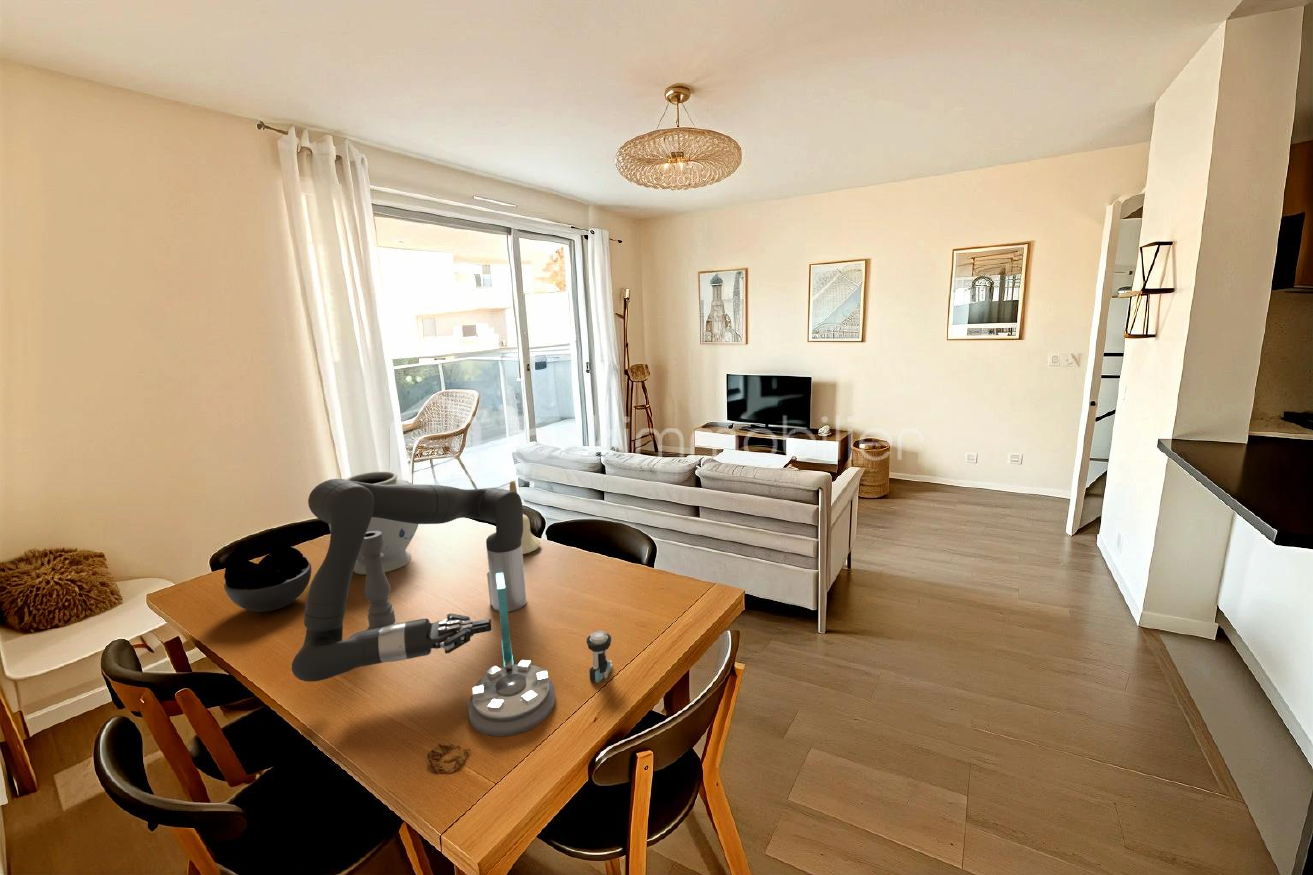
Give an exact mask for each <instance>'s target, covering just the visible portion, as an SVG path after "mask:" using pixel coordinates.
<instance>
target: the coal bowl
mask: <svg viewBox="0 0 1313 875" xmlns="http://www.w3.org/2000/svg"><path fill="white" fill-rule="evenodd" d="M245 548H246V547H245V545H243V544H240V545H238V546H237V547H236V548H234V551H233V552H231V553H230V554H229V555H227V556H226V558H225V562H226V563H227V564H226V566H225V568H224V576H223V577H224V581H225V583H224V585H223V589H224V592H225V593H226V595H227V597H228V598H229V599H230V600H231V601H232V602H233V603H234V604H235V605H236V606H238V607H240V608H241V609H243V610H247V611H250V612H259V613H264V612H273V611H276V610H279V609H282V608H284V607H287V606H288V605H290V604H292V603H293V602H295V601H296V600H297V599H298V598H299V597H300V596H301V595H302V594H303V592H304V591H305V590H306V589H307V587H308V584H309V583H310V579H311V576H312V564H311V563H310V561H309V560H308V559H307V557H306V556H304V554H303V553H302V552H301V551H300V550H299V549H297V548H295V547H292V546H291V544H290V541H289V539H287V538H286V539H285V538H283V539H280V540H277V541H276V542H275V543H274V544H272V545H269V547H268V548H269V549H266V550H265V551H264V554H266V555H265V556H264V557H263V558H262V559H260V561H259V562H258V563H256V562H254V561H250V560H248V558H247V557H246V556H245V555H244V551H245Z"/></svg>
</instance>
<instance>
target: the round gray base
mask: <svg viewBox="0 0 1313 875" xmlns="http://www.w3.org/2000/svg"><path fill="white" fill-rule="evenodd" d="M549 689H550V690H549V695H548V698H547V700H546V701H545V703H544V704H543V705H542V706H541V707H540V708H539V709H537V710H536V711H535V712H533V713H531V714H530V715H527V716H525V717H523V718H520V719H517V720H513V721H507V722H494V721H489V720H486V719H483V718H482V717H480V716H479V715H478V714H477V713H476V712H475V710H474V707H473V698H472V695H471V696H470V697H469V700H468V705H467V709H468V717H469V722H470V724H471V727H473V728H474V729H475V730H476V731H478V732H479V733H480V734H484V735H486V736H491V737H508V736H515V735H518V734H521V733H525V732H527V731H529V730H532V729H533V728H535V727H537V726H538V725H540V724H541V723H542V722H543V721H544V720H545V719H546V718H548V716H549V715H550V714H551V713H552V711H553V709H554V707H555V703H556V692H555V691H556V690H555V685H554V682H553V681H552V680H551V679H550V678H549Z"/></svg>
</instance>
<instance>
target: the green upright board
mask: <svg viewBox="0 0 1313 875" xmlns="http://www.w3.org/2000/svg"><path fill="white" fill-rule="evenodd" d="M496 581H497V591H498V602H499V611H498V612H499V621H500V630H501V632H500V633H501V641H500V643H501V651H502V659H503V666H502V667H501V666H500V667H498V666H497V665H494V666H492V667H490V668H488V669H487V670H485V671H486V672H485V673H486V675H484V676H483V677H481V679H479V680H478V681H477V682H476V684H475V685H474V687H472V694H471V696H472V698H473V707H474V710H475V712H476V713H477V714H478V715H479V716H480V717H482V718H483V719H486V720H489V721H494V722H507V721H513V720H517V719H520V718H523V717H525V716H527V715H530V714H531V713H533V712H535V711H536V710H537V709H539V708H540V707H541V706H542V705H543V704H544V703H545V701H546V700H547V698H548V695H549V690H550V689H549V679H550V677H549V675H548V671H547V670H545V669H542V667H539V666H537V665H535V664H532V661H531V660H525V659H521V660H520V661H519V663H515V664H514V657H513V649H512V642H511V641H512V640H511V637H510V636H511V635H510V625H509V614H508V612H507V602H506V592H505V583H504V576H503V573H497V574H496Z"/></svg>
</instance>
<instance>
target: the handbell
mask: <svg viewBox="0 0 1313 875" xmlns="http://www.w3.org/2000/svg"><path fill="white" fill-rule="evenodd" d="M517 489H518V488H517V485H516V482H515V480H511V481H510V482H509V490H510V491H514V492H516V493H517V494H518V491H517ZM530 523H531V522H530V519H529V517H528V516H527V515H526V514H524V513H523V535H522V538H521V543H522V555H524V554H530V553H531V552H533V551H535V550H537V549H538V548H539V547H540V545H541V541H540V539H539V538H538V537H536V536H535V535H534V534H533V533H532V531H531V524H530Z"/></svg>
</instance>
